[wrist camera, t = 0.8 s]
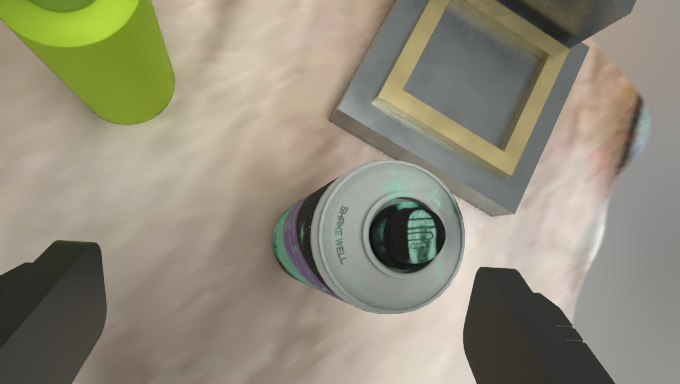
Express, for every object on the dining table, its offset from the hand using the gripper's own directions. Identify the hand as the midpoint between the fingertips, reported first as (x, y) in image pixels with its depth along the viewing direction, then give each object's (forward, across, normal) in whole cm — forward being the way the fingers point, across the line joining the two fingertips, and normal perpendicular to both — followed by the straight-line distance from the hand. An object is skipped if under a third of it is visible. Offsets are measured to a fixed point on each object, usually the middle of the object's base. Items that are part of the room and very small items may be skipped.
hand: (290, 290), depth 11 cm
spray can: (+21, -1, +10) cm, 24 cm away
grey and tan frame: (+28, -11, 0) cm, 30 cm away
